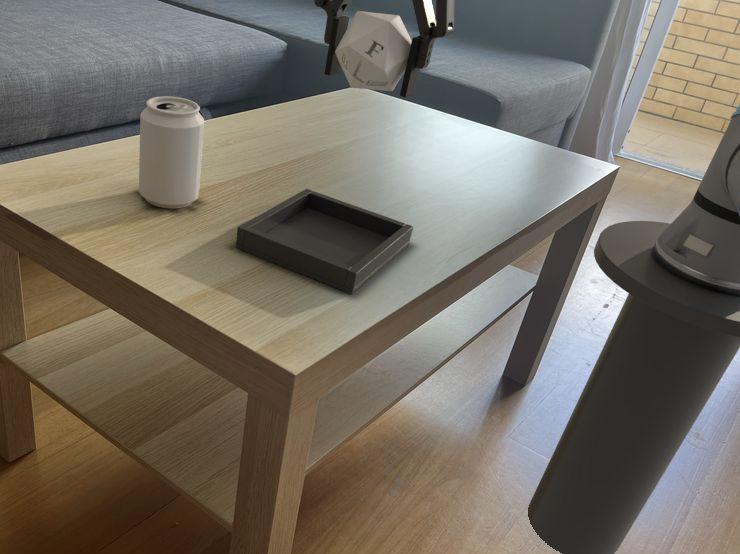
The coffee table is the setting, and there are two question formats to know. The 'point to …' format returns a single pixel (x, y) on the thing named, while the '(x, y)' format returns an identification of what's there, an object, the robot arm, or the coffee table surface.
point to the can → (170, 151)
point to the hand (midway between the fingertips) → (368, 83)
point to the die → (374, 51)
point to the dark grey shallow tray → (325, 239)
